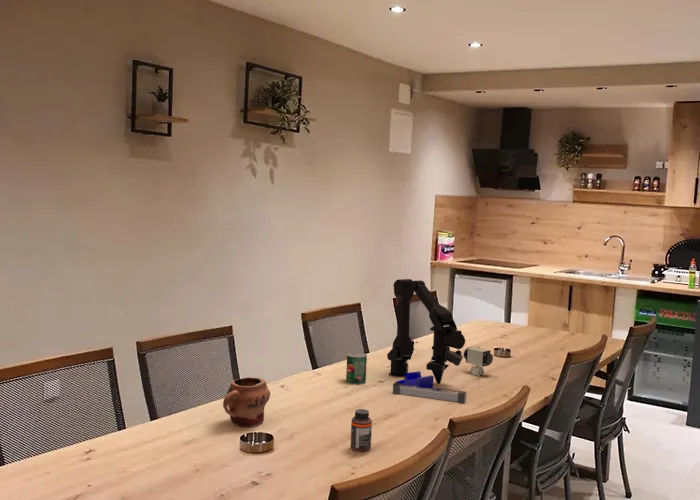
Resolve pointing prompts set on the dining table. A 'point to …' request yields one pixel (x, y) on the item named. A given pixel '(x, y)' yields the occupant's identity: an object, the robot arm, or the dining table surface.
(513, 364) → the dining table surface
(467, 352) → the pneumatic valve
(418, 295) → the robot arm
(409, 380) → the mounting bracket
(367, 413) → the supplement bottle
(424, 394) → the rail
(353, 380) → the canned tomato
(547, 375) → the dining table surface
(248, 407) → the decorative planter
